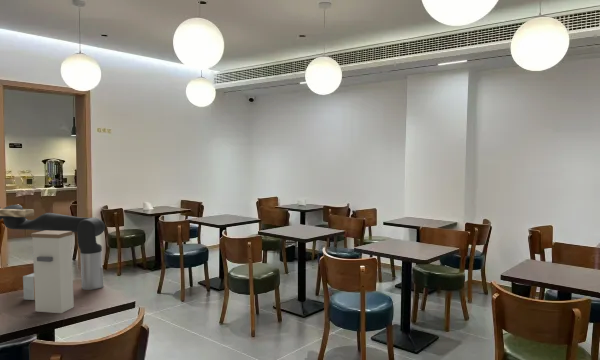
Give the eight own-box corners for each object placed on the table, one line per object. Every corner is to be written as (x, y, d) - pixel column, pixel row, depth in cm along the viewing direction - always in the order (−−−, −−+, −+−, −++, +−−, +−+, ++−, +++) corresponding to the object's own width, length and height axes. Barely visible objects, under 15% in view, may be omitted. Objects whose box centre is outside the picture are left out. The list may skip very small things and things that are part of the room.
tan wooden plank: (34, 215, 179) (33, 209, 179) (24, 217, 174) (24, 211, 174) (-11, 213, 183) (-11, 208, 183) (-22, 215, 179) (-22, 209, 178)
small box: (34, 300, 188) (33, 276, 188) (23, 299, 189) (22, 276, 189) (48, 294, 196) (47, 271, 196) (37, 293, 197) (36, 271, 197)
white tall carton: (74, 306, 180) (72, 231, 178) (59, 314, 171) (56, 235, 169) (48, 305, 182) (45, 230, 180) (32, 312, 174) (28, 234, 172)
